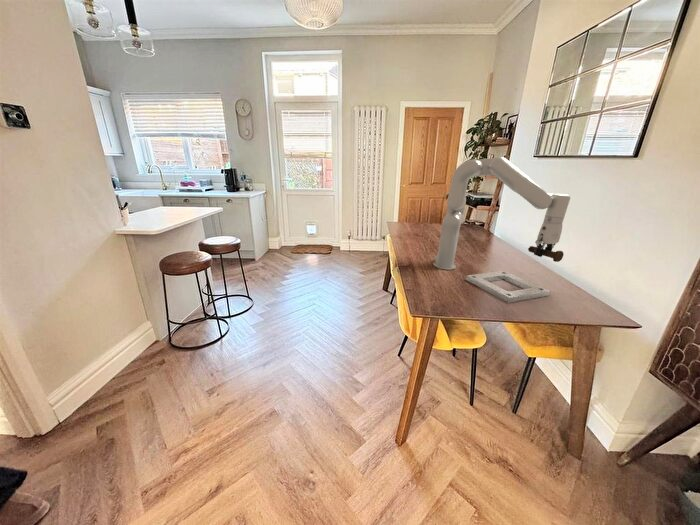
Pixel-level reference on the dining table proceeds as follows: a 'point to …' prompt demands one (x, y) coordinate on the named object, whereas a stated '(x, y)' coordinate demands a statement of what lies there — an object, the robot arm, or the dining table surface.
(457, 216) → the robot arm
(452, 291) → the dining table surface
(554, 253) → the bolt
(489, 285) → the plate
